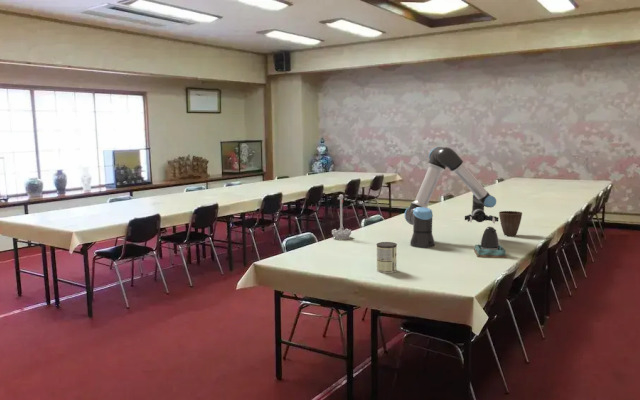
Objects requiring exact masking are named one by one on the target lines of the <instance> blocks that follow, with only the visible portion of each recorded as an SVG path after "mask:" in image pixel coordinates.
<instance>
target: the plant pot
mask: <svg viewBox="0 0 640 400" xmlns="http://www.w3.org/2000/svg"><path fill="white" fill-rule="evenodd" d="M522 216H523V212H522V211H516V210H513V211H512V210H500V211H499V212H498V217H499V220H500V221H499V222H500V225H501V230H502V232H503V235H504V236H505V235H508V236H507V237H516V236H517V233H518V232H519V228H520V226H521V221H522V218H523V217H522ZM515 235H516V236H515Z"/></svg>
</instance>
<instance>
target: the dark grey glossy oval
mask: <svg viewBox="0 0 640 400" xmlns="http://www.w3.org/2000/svg"><path fill="white" fill-rule="evenodd" d="M480 245H481V248H482V250H498V247H499V245H500V242H499V237H498V233H497V229H495V227H492V226H487V227H486V228H485V230H483V233H482V236H481V241H480Z"/></svg>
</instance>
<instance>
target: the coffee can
mask: <svg viewBox="0 0 640 400" xmlns="http://www.w3.org/2000/svg"><path fill="white" fill-rule="evenodd" d="M397 246H398V244H397V243H395V242H391V241H380V242H378V243H376V272H378V273H382V274H391V273H392V274H393V273H396V272H397Z"/></svg>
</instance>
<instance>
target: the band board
mask: <svg viewBox="0 0 640 400" xmlns="http://www.w3.org/2000/svg"><path fill="white" fill-rule="evenodd" d="M473 252H474V253H475V255H476V257H477V258H501V259H502V258H503V259H504V258H505V259H507V257H508V256H507V254H506V253H507V251H506V249H505V248H504V246H503V245H502V244H499V247H498V250H482V248H481V244H475V246H474V249H473Z"/></svg>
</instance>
